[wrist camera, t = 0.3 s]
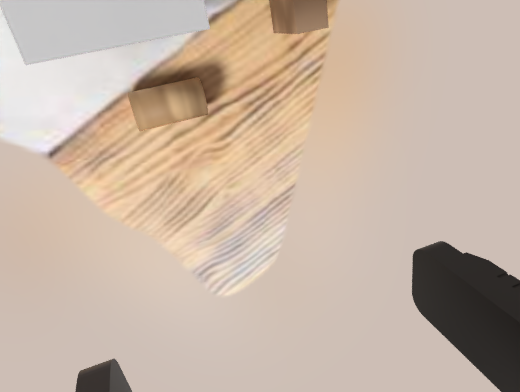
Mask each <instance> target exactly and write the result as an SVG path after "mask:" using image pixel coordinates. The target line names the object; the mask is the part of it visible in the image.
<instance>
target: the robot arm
mask: <svg viewBox="0 0 520 392" xmlns="http://www.w3.org/2000/svg"><path fill="white" fill-rule="evenodd" d="M412 295H413V300H414V302H415V305H416V306H417V308H418V310H419V311H420V312H421V314H422V315H423V316H424V317H425V318H426V319H427V320H428V321H429V322H430V323H431V324H432V325H433V326H434V327H435V328H436V329H437V330H438V331H439V332H441V333H442V335H444V336H445V337H446V338H447V339H448V340H449V341H450V342H451V343H452V344H453V345H454V346H455V347H456V348H457V349H458V350H459V351H460V352H461V353H462V354H463V355H464V356H465V357H466V358H467V359H468V360H469V361H470V362H471V363H472V364H473V365H474V366H475V367H476V368H477V369H479V371H480V372H482V373H483V374H484V375H485V376H486V377H487V378H488V379H489V380H490V381H491V382H492V383H493V384H494V385H495V386H496V387H497V388H498V389H499V390H500V391H501V392H520V280H518V279H517V278H515V277H513V276H512V275H508V274H507V272H506V271H504V270H503V269H501V268H499V267H498V266H496V265H495V264H493V263H492V262H490V261H489V260H486V259H483V258H480V257H478V256H475V255H472V254H469V253H464V254H463V253H461V252H460V251H458V250H457V249H455V248H454V247H452V246H451V245H449V244H447V243H445V242H443V241H440V242H437V243H434V244H431V245H429V246H426V247H423V248H420V249H417V250H416V251H415V252H414V254H413V274H412ZM76 392H132V390H131V388H130V386H129V384H128V382H127V380H126V378H125V376H124V374H123V372H122V370H121V368H120V366H119V364H118V362H117V361H116V360H115V359H112V360H109V361H106V362H103V363H101V364H98V365H95V366H92V367H89V368H87V369H84V370H81V371H80V372H79V374H78V378H77V385H76Z"/></svg>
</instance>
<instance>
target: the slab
mask: <svg viewBox="0 0 520 392" xmlns="http://www.w3.org/2000/svg"><path fill="white" fill-rule="evenodd" d="M0 7H1V9H2V11H3V14H4V16H5V18H6V21H7V23H8V25H9V28H10V30H11V32H12V35H13V37H14V39H15V42H16V44H17V46H18V49H19V51H20V53H21V56H22V58H23V60H24V63H25V65H29V64H34V63H39V62H44V61H49V60H54V59H59V58H64V57H70V56H75V55H80V54H85V53H90V52H95V51H100V50H105V49H110V48H115V47H120V46H125V45H130V44H136V43H141V42H146V41H151V40H156V39H161V38H166V37H171V36H176V35H181V34H186V33H191V32H196V31H202V30H207V29H210V27H209V22H208V17H207V12H206V8H205V3H204V0H0Z"/></svg>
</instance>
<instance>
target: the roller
mask: <svg viewBox="0 0 520 392" xmlns="http://www.w3.org/2000/svg"><path fill="white" fill-rule="evenodd" d="M128 97H129V100H130V104H131V107H132V110H133V114H134V117H135V120H136V123H137V126H138V128H139V131H143V130H147V129H151V128H155V127H159V126H163V125H167V124H171V123H176V122H180V121H184V120H188V119H192V118H196V117H200V116H204V115H208V108H207V102H206V98H205V94H204V91H203V87H202V84H201V82H200V80H199V78H198V77H197V78H192V79H188V80H183V81H179V82H174V83H170V84H165V85H161V86H156V87H152V88H147V89H143V90H138V91H134V92H129V93H128Z"/></svg>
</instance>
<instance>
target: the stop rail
mask: <svg viewBox="0 0 520 392" xmlns="http://www.w3.org/2000/svg"><path fill="white" fill-rule="evenodd" d="M269 1H270V8H271V15H272V22H273V30H274V33H286V34H300V33H304V32H309V31H314V30H319V29H323V28H328V14H327V1H326V0H269Z"/></svg>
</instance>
